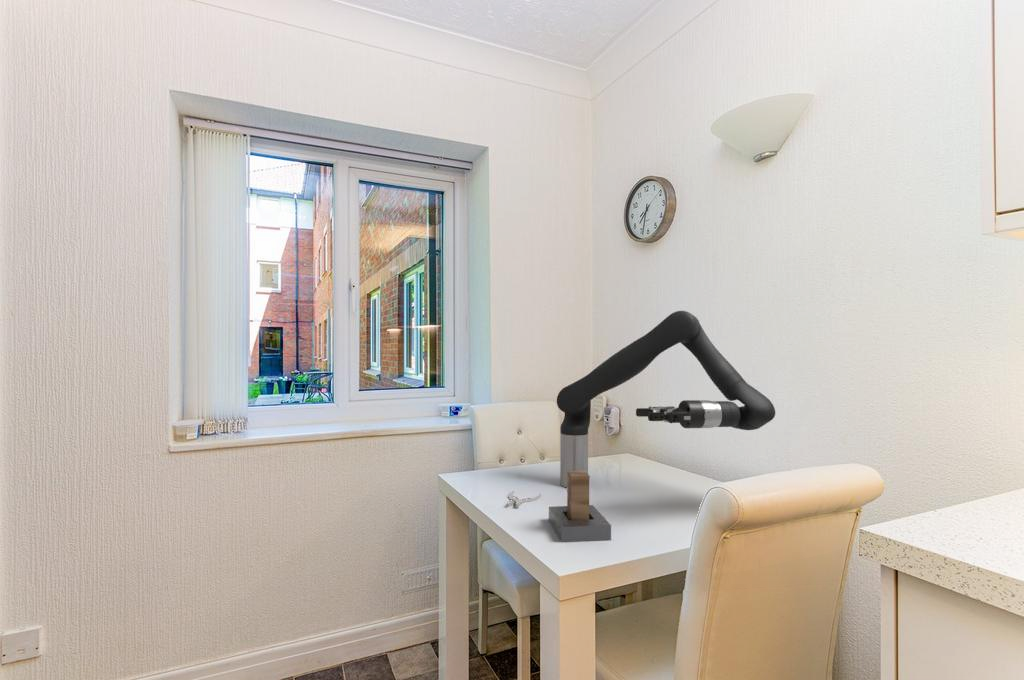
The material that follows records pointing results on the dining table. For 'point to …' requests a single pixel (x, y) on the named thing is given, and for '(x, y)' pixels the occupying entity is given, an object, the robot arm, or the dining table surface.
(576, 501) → the walnut peg
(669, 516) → the dining table surface
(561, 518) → the socket block
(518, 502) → the pliers
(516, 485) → the dining table surface
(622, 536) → the dining table surface
